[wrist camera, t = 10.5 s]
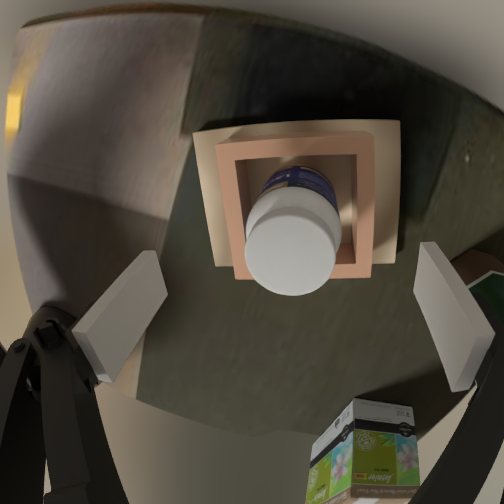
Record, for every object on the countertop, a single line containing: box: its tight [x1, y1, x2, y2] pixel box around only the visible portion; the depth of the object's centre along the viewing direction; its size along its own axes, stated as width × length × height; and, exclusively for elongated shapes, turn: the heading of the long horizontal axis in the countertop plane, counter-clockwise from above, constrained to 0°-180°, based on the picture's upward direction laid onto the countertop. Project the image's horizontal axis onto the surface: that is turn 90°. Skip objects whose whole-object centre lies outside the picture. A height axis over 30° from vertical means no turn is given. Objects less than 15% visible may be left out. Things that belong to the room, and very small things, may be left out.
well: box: [215, 131, 375, 279], centre depth 23 cm, size 10×10×4 cm
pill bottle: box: [245, 164, 341, 296], centre depth 20 cm, size 6×6×10 cm
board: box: [193, 119, 401, 266], centre depth 25 cm, size 16×12×1 cm
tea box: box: [305, 398, 420, 504], centre depth 33 cm, size 15×10×15 cm
